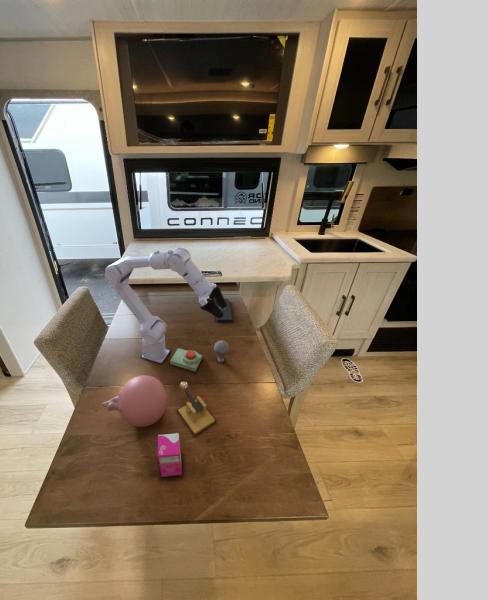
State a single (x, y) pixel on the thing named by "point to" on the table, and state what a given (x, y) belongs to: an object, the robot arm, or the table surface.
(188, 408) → the switch bracket
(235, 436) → the table surface
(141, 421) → the balloon
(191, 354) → the button
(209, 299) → the robot arm
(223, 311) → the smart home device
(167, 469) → the supplement box
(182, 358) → the button block
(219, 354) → the light bulb
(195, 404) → the lever
